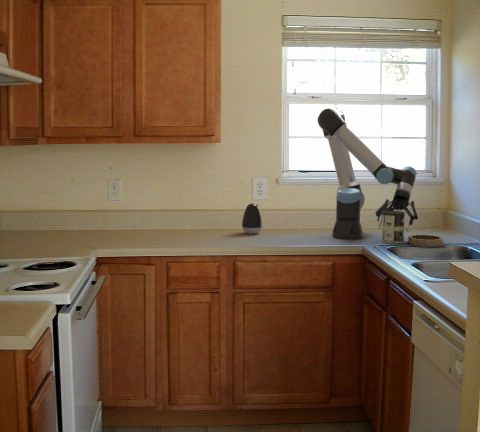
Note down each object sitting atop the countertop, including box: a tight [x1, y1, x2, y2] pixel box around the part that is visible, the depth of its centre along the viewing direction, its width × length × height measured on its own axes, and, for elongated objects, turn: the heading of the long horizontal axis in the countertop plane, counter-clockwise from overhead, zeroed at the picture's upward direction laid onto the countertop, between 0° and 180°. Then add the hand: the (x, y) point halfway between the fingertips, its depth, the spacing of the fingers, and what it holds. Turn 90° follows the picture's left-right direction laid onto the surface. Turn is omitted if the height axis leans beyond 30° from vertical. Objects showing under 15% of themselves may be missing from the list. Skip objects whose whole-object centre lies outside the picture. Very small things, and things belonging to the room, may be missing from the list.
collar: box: [406, 234, 445, 249], centre depth 310 cm, size 17×17×3 cm
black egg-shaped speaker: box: [241, 203, 263, 235], centre depth 337 cm, size 10×10×15 cm
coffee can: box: [381, 210, 406, 244], centre depth 317 cm, size 10×10×14 cm
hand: (392, 228), depth 316 cm, fingers open, 13 cm apart
